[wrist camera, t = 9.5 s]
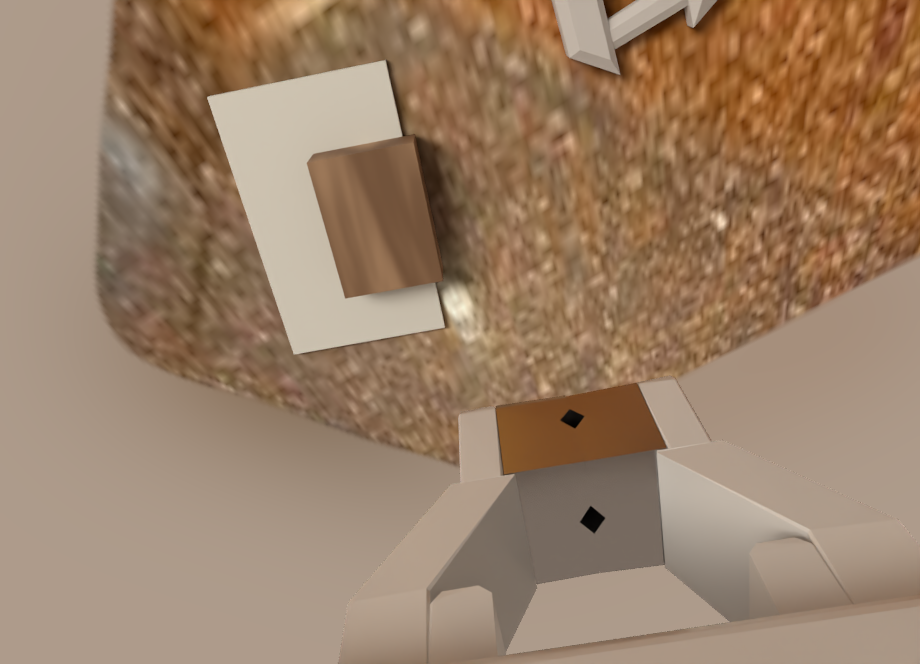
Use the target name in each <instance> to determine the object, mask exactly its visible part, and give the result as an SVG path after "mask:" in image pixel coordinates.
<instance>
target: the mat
mask: <svg viewBox="0 0 920 664" xmlns="http://www.w3.org/2000/svg"><path fill="white" fill-rule="evenodd" d="M207 98H208V101H209V104H210V107H211V110H212V113H213V116H214V119H215V122H216V125H217V128H218V131H219V134H220V137H221V140H222V143H223V146H224V149H225V152H226V155H227V158H228V161H229V164H230V166H231V169H232V172H233V175H234V178H235V181H236V184H237V187H238V190H239V193H240V196H241V199H242V202H243V205H244V208H245V211H246V214H247V217H248V220H249V223H250V226H251V229H252V232H253V235H254V238H255V241H256V243H257V246H258V249H259V252H260V255H261V258H262V261H263V264H264V267H265V270H266V273H267V276H268V279H269V282H270V285H271V288H272V291H273V294H274V297H275V300H276V303H277V306H278V309H279V312H280V315H281V318H282V321H283V323H284V326H285V329H286V332H287V335H288V338H289V341H290V344H291V347H292V350H293V353H294V354H300V353H305V352H311V351H316V350H322V349H328V348H333V347H339V346H344V345H350V344H356V343H361V342H367V341H372V340H378V339H384V338H389V337H395V336H400V335H406V334H412V333H417V332H423V331H428V330H434V329H440V328H445V323H444V319H443V314H442V310H441V305H440V301H439V296H438V292H437V287H436V283H429V284H424V285H418V286H413V287H407V288H401V289H396V290H390V291H385V292H379V293H374V294H368V295H363V296H357V297H352V298H346V299H345V296H344V293H343V289H342V286H341V282H340V279H339V275H338V272H337V268H336V265H335V261H334V258H333V254H332V251H331V247H330V243H329V240H328V236H327V233H326V229H325V226H324V222H323V219H322V215H321V212H320V208H319V205H318V201H317V198H316V194H315V191H314V187H313V184H312V180H311V177H310V173H309V170H308V166H307V162H308V160H309V159H310V158H311V156H312V155H313V154H315V153H320V152H326V151H331V150H336V149H341V148H346V147H351V146H356V145H361V144H367V143H372V142H377V141H382V140H387V139H392V138H397V137H403V135H402V130H401V126H400V121H399V117H398V112H397V108H396V103H395V99H394V94H393V90H392V86H391V81H390V77H389V72H388V68H387V63H386V60H383V61H378V62H373V63H368V64H363V65H359V66H354V67H349V68H344V69H339V70H334V71H329V72H324V73H320V74H315V75H310V76H305V77H300V78H295V79H290V80H286V81H281V82H276V83H271V84H266V85H261V86H256V87H252V88H247V89H242V90H237V91H232V92H227V93H222V94H218V95H213V96H209V97H207Z"/></svg>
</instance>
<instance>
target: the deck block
mask: <svg viewBox="0 0 920 664" xmlns="http://www.w3.org/2000/svg"><path fill="white" fill-rule="evenodd" d="M307 166H308V170H309V173H310V177H311V180H312V184H313V187H314V191H315V194H316V198H317V201H318V205H319V208H320V212H321V215H322V219H323V222H324V226H325V229H326V233H327V236H328V240H329V243H330V247H331V251H332V254H333V258H334V261H335V265H336V268H337V272H338V275H339V279H340V282H341V286H342V289H343V293H344V296H345V299H346V298H352V297H357V296H363V295H368V294H374V293H379V292H385V291H390V290H396V289H401V288H407V287H413V286H418V285H424V284H429V283H435V282H440V281H443V264H442V259H441V255H440V250H439V245H438V240H437V236H436V231H435V226H434V222H433V217H432V212H431V207H430V203H429V198H428V193H427V189H426V184H425V179H424V174H423V170H422V165H421V160H420V156H419V151H418V146H417V141H416V137H415V134H413V135H408V136H403V137H397V138H392V139H387V140H382V141H377V142H372V143H367V144H361V145H356V146H351V147H346V148H341V149H336V150H331V151H326V152H320V153H315V154H313V155H312V156H311V158H310V159H309V160H308V162H307Z"/></svg>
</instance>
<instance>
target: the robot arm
mask: <svg viewBox="0 0 920 664" xmlns="http://www.w3.org/2000/svg"><path fill="white" fill-rule="evenodd" d="M459 450H460V480H461V481H460V483H456V484H451V485H449V487H448V488H447V489H446V490H445V491H444V493H443V494H442V495H441V496H440V497H439V498H438V499H437V500H436V502H435V503H434V504H433V505H432V506H431V507H430V509H429V510H428V511H427V512H426V513H425V514H424V515H423V517H422V518H421V519H420V520H419V521H418V522H417V524H416V525H415V526H414V527H413V528H412V529H411V530H410V532H409V533H408V534H407V535H406V536H405V537H404V539H403V540H402V541H401V542H400V543H399V544H398V546H397V547H396V548H395V549H394V550H393V551H392V552H391V553H390V555H389V556H388V557H387V558H386V559H385V560H384V562H383V563H382V564H381V565H380V566H379V568H377V570H376V571H375V572H374V573H373V574H372V575H371V577H370V578H369V579H368V580H367V581H366V582H365V584H364V585H363V586H362V587H361V588H360V589H359V590H358V591H357V593H356V594H355V595H354V596H353V597H352V598H351V600H350V601H349V602H348V606H347V613H346V619H345V624H344V631H343V637H342V643H341V650H340V656H339V662H338V664H920V545H919V544H918V543H917V542H916V540H915V539H914V538H913V537H912V536H911V534H910V533H909V532H908V531H907V530H906V529H905V527H904V526H903V525H902V523H901V522H900V521H899V520H898V519H896V518H894V517H892V516H890V515H887V514H885V513H883V512H881V511H879V510H876V509H874V508H872V507H870V506H868V505H865V504H863V503H861V502H859V501H856V500H854V499H852V498H850V497H848V496H845V495H843V494H841V493H839V492H836V491H834V490H832V489H830V488H828V487H825V486H823V485H821V484H819V483H817V482H814V481H812V480H810V479H808V478H806V477H804V476H801V475H799V474H797V473H795V472H792V471H790V470H788V469H786V468H784V467H781V466H779V465H777V464H775V463H773V462H770V461H768V460H766V459H764V458H761V457H759V456H757V455H755V454H753V453H751V452H748V451H746V450H744V449H742V448H739V447H737V446H735V445H733V444H731V443H728V442H726V441H724V440H720V441H713V442H712V441H711V439H710V437H709V435H708V434H707V432H706V430H705V429H704V427H703V425H702V423H701V421H700V420H699V418H698V416H697V415H696V413H695V411H694V409H693V408H692V406H691V404H690V403H689V401H688V399H687V397H686V396H685V394H684V392H683V391H682V389H681V387H680V385H679V384H678V382H677V380H676V378H674V377H672V376H666V377H661V378H656V379H651V380H646V381H642V382H637V383H633V384H628V385H623V386H618V387H613V388H607V389H602V390H597V391H592V392H587V393H582V394H577V395H571V396H559V397H552V398H545V399H539V400H532V401H525V402H519V403H512V404H505V405H498V406H496V408H495V407H494V406H490V407H485V408H479V409H474V410H468V411H462V412H460V415H459ZM659 565H665V568H666V569H668V570H669V571H670V572H671V573H672V574H674V575H675V576H676V577H677V578H678V579H680V580H681V581H682V582H683V583H684V584H685V585H687V586H688V587H689V588H690V589H691V590H693V591H694V592H695V593H696V594H697V595H699V596H700V597H701V598H702V599H703V600H705V601H706V602H707V603H708V604H709V605H711V606H712V607H713V608H714V609H715V610H717V611H718V612H719V613H720V614H721V615H723V616H724V617H725V618H726V619H727V620H728V621H730V622H728V623H721V624H715V625H708V626H701V627H694V628H687V629H680V630H674V631H667V632H660V633H653V634H647V635H641V636H633V637H627V638H620V639H613V640H606V641H599V642H593V643H586V644H579V645H572V646H566V647H559V648H551V649H545V650H538V651H531V652H524V653H517V654H510V655H506V651H507V649H508V647H509V644H510V642H511V640H512V638H513V636H514V634H515V632H516V630H517V628H518V626H519V624H520V622H521V620H522V618H523V616H524V614H525V611H526V609H527V607H528V605H529V603H530V601H531V599H532V597H533V595H534V593H535V591H536V589H537V585H536V584H540V583H546V582H552V581H557V580H563V579H568V578H574V577H579V576H584V575H590V574H596V573H602V572H610V571H618V570H626V569H635V568H643V567H651V566H659ZM599 571H600V572H599Z"/></svg>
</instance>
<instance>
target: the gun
mask: <svg viewBox="0 0 920 664" xmlns="http://www.w3.org/2000/svg"><path fill="white" fill-rule="evenodd" d="M716 1H717V0H636V1H634V2H633V3H631V4H630V5H628V6H626V7H625V8H623V9H622V10H620V11H619V12H617V13H615V14H614V15H612V16H611V17H609V18H608V19H607V15H606V11H605V7H604V2H603V0H552V4H553V7H554V11H555V15H556V19H557V22H558V26H559V30H560V34H561V37H562V41H563V45H564V49H565V52H566V55H567V56H568V57H569V58H572V59H575V60H577V61H580V62H583V63H586V64H589V65H592V66H595V67H598V68H601V69H604V70H607V71H610V72H613V73H616V74H619V75H620V71H619V67H618V62H617V58H616V54H615V49H617V48H618V47H620V46H621V45H623V44H625V43H626V42H628V41H630V40H631V39H633V38H635V37H636V36H638V35H640V34H641V33H643V32H645V31H646V30H648V29H650V28H651V27H653V26H655V25H656V24H658V23H660V22H661V21H663V20H665V19H666V18H668V17H670V16H671V15H673V14H675V13H676V12H678V11H680V10H681V9H683V8H684V10H685V16H686V21H687V26H690V27H693V28H694V27H695V26H696V24H697V23H698V22H699V21H700V20H701V19H702V17H703V16H704V15H705V14H706V13H707V12H708V10H709V9H710V8H711V7H712V6H713V5H714V3H715V2H716Z"/></svg>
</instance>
